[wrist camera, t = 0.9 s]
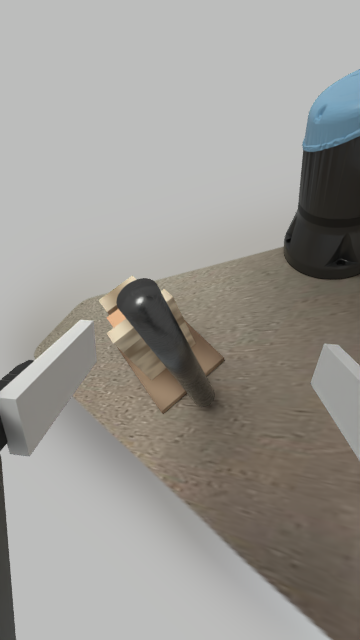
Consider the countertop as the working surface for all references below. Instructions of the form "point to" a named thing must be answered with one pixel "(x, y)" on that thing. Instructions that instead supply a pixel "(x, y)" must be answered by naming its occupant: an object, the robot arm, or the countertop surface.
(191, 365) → the crank handle
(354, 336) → the countertop surface
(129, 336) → the bearing stand
